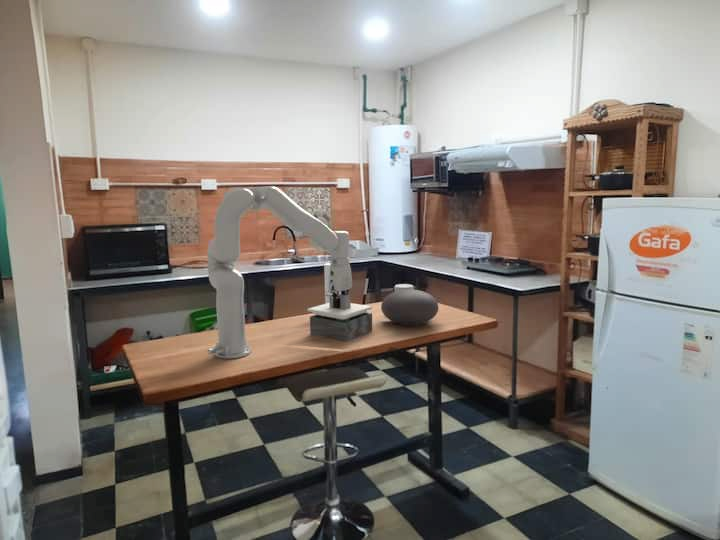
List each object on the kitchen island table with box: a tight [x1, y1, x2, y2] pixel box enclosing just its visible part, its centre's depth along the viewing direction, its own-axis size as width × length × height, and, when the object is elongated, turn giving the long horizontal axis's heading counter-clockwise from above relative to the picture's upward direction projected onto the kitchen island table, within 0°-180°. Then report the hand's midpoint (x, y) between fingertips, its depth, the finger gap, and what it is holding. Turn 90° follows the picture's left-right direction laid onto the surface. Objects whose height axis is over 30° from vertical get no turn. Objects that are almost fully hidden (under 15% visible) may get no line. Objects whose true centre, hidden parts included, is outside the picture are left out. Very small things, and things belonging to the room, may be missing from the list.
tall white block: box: [323, 262, 341, 304], centre depth 225 cm, size 7×7×25 cm
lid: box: [307, 294, 373, 320], centre depth 198 cm, size 19×19×7 cm
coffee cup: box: [393, 283, 415, 292], centre depth 238 cm, size 9×9×12 cm
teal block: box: [335, 319, 349, 322], centre depth 199 cm, size 5×5×5 cm
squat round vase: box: [380, 288, 439, 326], centre depth 213 cm, size 25×25×15 cm
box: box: [309, 311, 373, 342], centre depth 199 cm, size 18×18×8 cm
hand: (340, 306), depth 198 cm, fingers closed on lid, 3 cm apart
